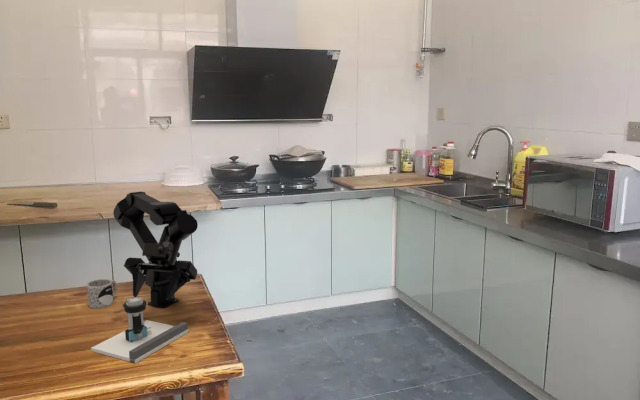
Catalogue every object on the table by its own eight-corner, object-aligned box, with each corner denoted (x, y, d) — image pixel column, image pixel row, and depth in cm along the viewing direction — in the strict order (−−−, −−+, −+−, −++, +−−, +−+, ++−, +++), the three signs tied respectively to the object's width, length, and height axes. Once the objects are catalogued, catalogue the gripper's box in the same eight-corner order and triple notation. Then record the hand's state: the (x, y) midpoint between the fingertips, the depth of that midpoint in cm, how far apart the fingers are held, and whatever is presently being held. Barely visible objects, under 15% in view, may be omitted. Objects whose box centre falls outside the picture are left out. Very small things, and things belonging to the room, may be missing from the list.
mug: (102, 310, 146) (100, 287, 145) (83, 307, 148) (81, 285, 147) (125, 298, 155) (124, 277, 154) (107, 295, 157) (106, 274, 156)
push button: (145, 330, 131) (142, 292, 129) (157, 335, 127) (155, 297, 126) (121, 339, 125) (118, 300, 124) (133, 345, 122) (130, 305, 120)
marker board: (146, 322, 137) (146, 313, 137) (188, 332, 131) (187, 323, 131) (91, 350, 121) (90, 341, 121) (135, 363, 115) (135, 352, 115)
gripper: (125, 228, 136) (102, 281, 127) (190, 231, 132) (172, 286, 123) (143, 249, 145) (123, 300, 136) (204, 252, 141) (188, 305, 132)
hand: (150, 297), depth 131 cm, fingers open, 9 cm apart
